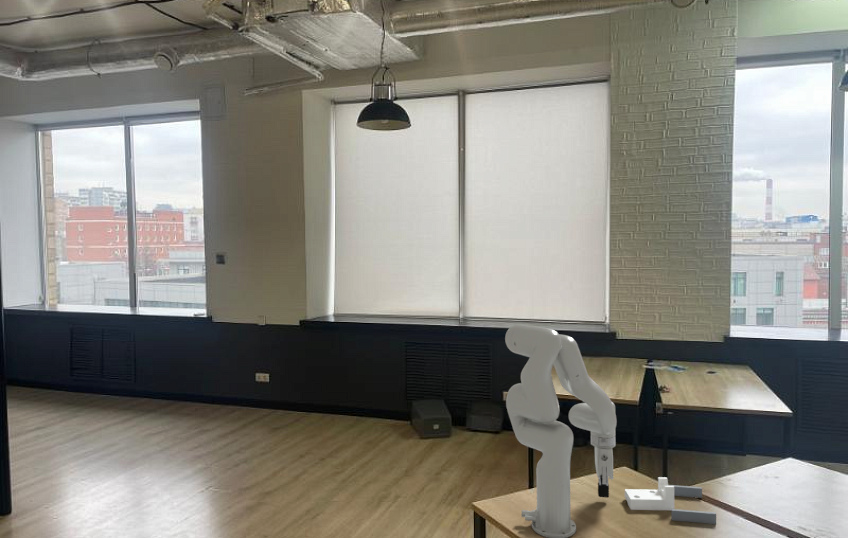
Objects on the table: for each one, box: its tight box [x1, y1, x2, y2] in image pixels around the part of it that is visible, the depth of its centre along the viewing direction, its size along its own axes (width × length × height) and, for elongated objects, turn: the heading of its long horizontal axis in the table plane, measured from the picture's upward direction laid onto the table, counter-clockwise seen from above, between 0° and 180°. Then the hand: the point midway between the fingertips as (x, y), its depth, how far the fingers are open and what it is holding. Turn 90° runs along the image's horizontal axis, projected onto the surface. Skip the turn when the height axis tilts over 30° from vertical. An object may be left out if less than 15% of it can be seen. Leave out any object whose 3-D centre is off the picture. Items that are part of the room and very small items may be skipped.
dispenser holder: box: [668, 484, 717, 525], centre depth 176 cm, size 12×18×3 cm, turn 167°
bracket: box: [624, 476, 675, 511], centre depth 179 cm, size 13×7×8 cm, turn 85°
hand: (603, 496), depth 182 cm, fingers closed
